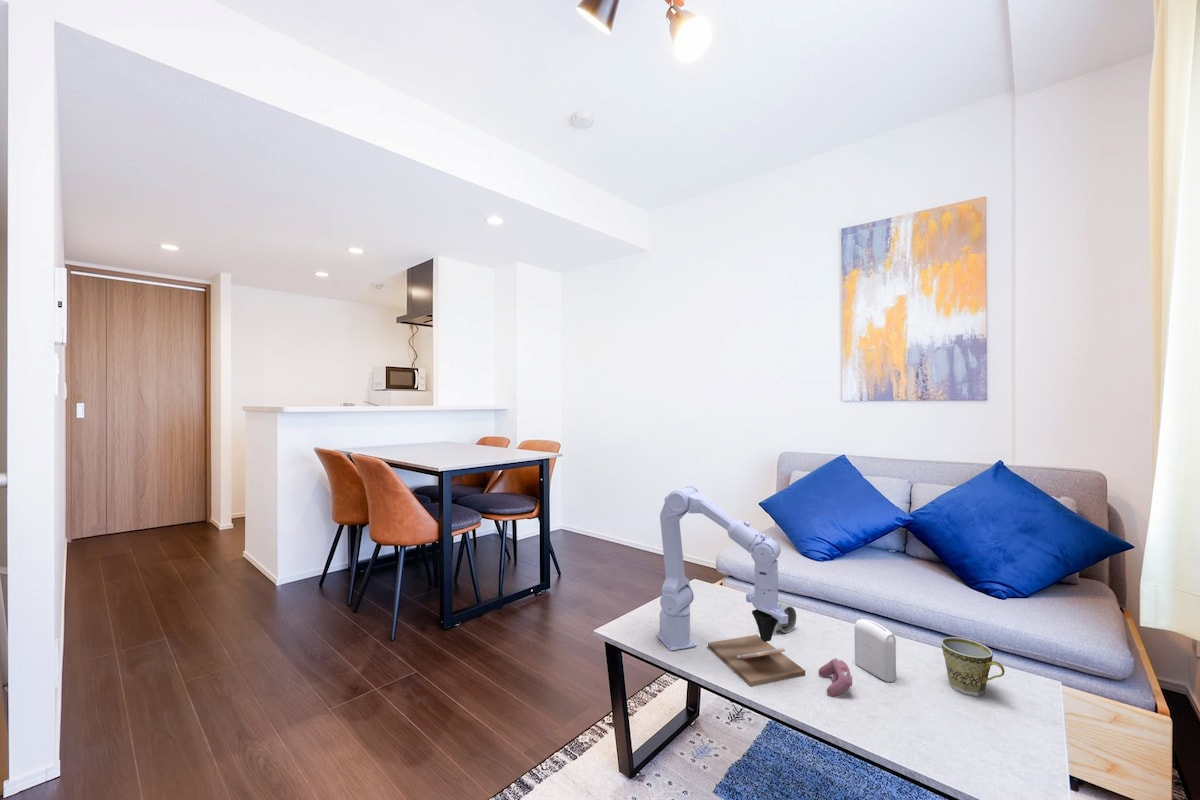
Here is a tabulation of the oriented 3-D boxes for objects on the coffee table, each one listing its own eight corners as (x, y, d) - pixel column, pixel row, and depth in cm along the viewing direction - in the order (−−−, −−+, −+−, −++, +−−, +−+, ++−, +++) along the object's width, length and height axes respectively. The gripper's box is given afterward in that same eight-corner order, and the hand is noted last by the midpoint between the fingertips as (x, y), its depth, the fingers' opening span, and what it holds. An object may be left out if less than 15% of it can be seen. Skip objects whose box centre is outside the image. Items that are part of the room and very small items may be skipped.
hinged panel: (753, 653, 125) (754, 657, 125) (787, 647, 128) (788, 650, 128) (736, 655, 132) (737, 659, 132) (769, 649, 135) (769, 653, 135)
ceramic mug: (774, 619, 158) (774, 595, 158) (797, 629, 151) (796, 604, 151) (751, 628, 152) (751, 603, 152) (774, 639, 145) (774, 613, 145)
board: (707, 647, 140) (707, 642, 140) (756, 638, 145) (756, 634, 145) (750, 686, 121) (750, 681, 121) (805, 675, 126) (805, 670, 126)
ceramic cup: (931, 682, 123) (931, 641, 123) (957, 673, 127) (957, 633, 127) (990, 712, 111) (990, 667, 111) (1017, 701, 115) (1017, 658, 115)
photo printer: (851, 663, 132) (851, 616, 132) (864, 660, 134) (864, 613, 133) (886, 684, 122) (886, 633, 122) (899, 680, 124) (899, 630, 124)
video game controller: (844, 705, 116) (859, 680, 116) (825, 694, 117) (840, 669, 117) (833, 681, 126) (846, 658, 125) (816, 672, 127) (829, 648, 126)
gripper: (798, 595, 123) (798, 651, 123) (761, 575, 136) (761, 625, 137) (774, 599, 120) (774, 655, 121) (739, 578, 134) (739, 629, 134)
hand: (765, 640), depth 128 cm, fingers closed
